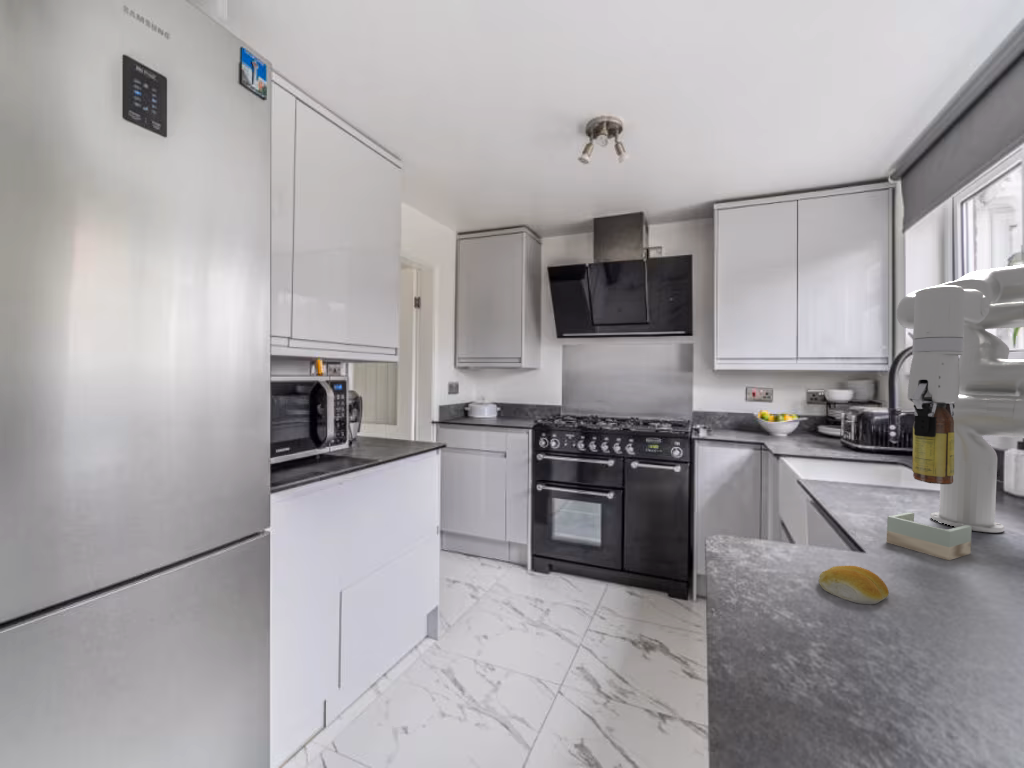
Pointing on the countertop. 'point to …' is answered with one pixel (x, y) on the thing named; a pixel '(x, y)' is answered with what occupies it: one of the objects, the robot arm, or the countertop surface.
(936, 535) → the tray
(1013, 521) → the countertop surface
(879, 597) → the bread roll
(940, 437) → the sauce bottle
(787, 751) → the countertop surface
